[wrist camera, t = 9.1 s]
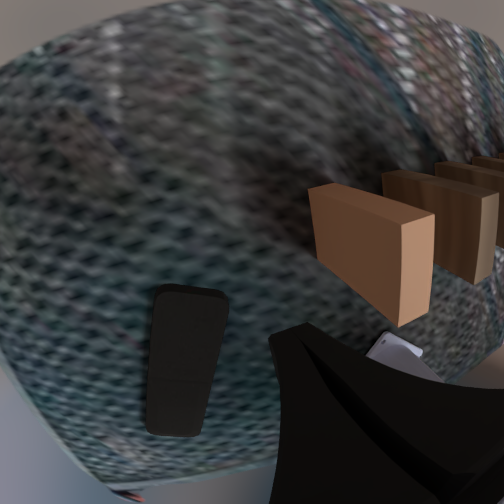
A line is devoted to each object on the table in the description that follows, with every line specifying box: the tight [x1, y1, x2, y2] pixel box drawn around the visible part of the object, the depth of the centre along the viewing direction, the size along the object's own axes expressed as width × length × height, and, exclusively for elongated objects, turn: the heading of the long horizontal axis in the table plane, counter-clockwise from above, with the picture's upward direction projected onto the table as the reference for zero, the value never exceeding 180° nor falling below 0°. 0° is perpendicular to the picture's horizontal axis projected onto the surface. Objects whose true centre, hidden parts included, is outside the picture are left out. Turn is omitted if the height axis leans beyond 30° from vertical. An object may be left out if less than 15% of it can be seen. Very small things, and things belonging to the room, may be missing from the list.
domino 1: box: [308, 183, 435, 327], centre depth 16 cm, size 2×5×9 cm, turn 13°
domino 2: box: [381, 169, 499, 285], centre depth 17 cm, size 2×5×9 cm, turn 13°
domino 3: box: [434, 161, 504, 249], centre depth 18 cm, size 2×5×9 cm, turn 13°
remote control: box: [146, 284, 229, 437], centre depth 21 cm, size 5×2×15 cm
